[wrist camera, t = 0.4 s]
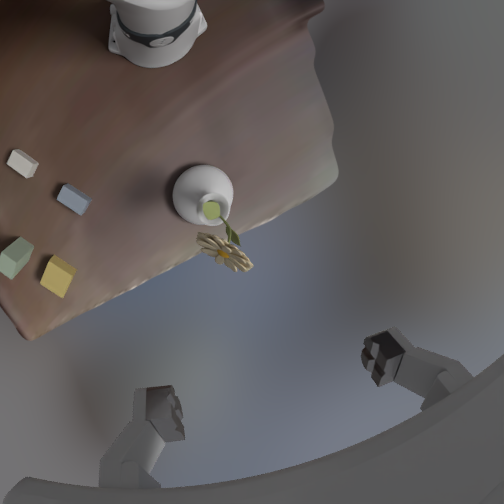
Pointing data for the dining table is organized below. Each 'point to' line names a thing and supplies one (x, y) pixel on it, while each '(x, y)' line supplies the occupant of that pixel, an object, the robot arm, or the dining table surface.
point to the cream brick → (22, 163)
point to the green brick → (15, 257)
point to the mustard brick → (57, 276)
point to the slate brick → (74, 199)
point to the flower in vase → (209, 212)
